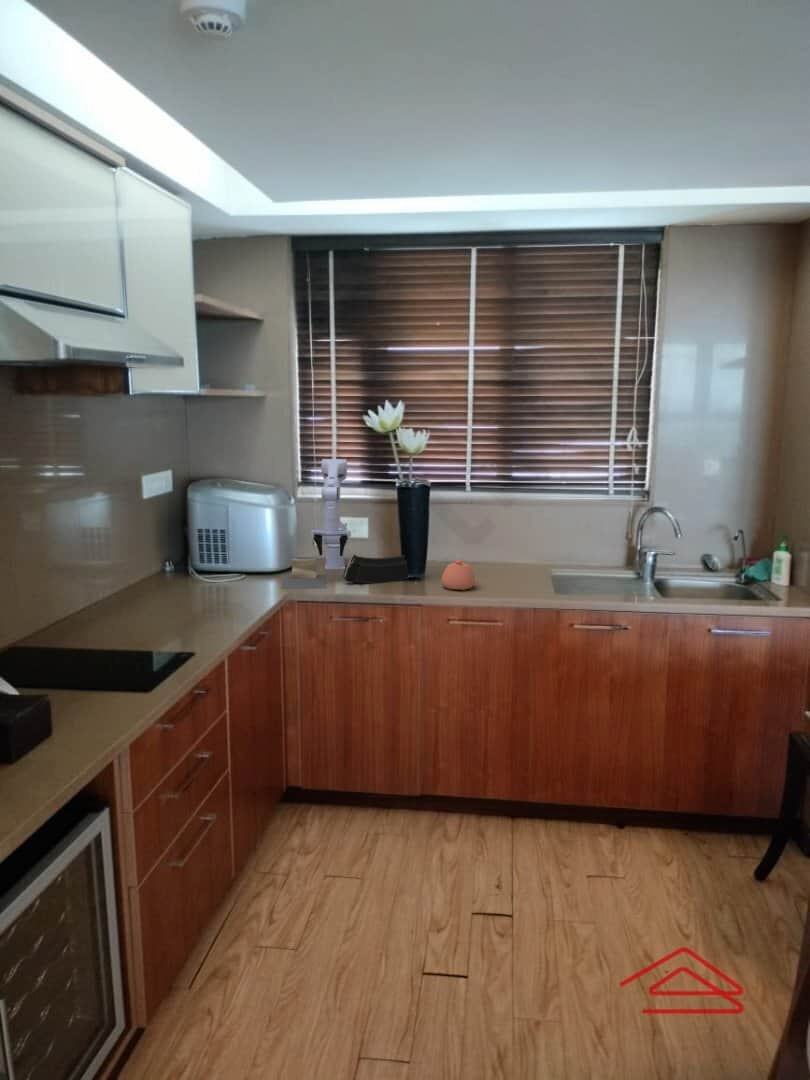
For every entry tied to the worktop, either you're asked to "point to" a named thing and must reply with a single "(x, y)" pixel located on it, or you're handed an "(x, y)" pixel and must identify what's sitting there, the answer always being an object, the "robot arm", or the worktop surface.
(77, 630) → the worktop surface
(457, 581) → the sugar bowl
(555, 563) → the worktop surface
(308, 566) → the tile
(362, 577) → the magazine
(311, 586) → the mat
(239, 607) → the worktop surface
